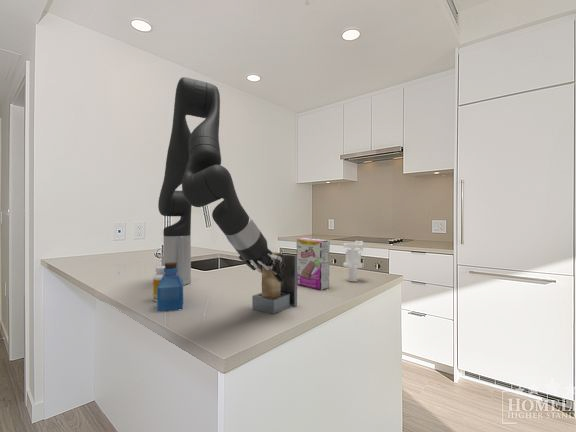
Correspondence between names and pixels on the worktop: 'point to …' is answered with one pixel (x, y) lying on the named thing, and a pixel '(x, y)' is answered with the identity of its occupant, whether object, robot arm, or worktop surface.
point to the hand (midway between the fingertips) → (275, 278)
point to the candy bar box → (313, 263)
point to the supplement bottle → (157, 280)
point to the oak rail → (270, 283)
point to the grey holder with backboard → (287, 290)
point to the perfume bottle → (170, 289)
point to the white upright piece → (353, 259)
